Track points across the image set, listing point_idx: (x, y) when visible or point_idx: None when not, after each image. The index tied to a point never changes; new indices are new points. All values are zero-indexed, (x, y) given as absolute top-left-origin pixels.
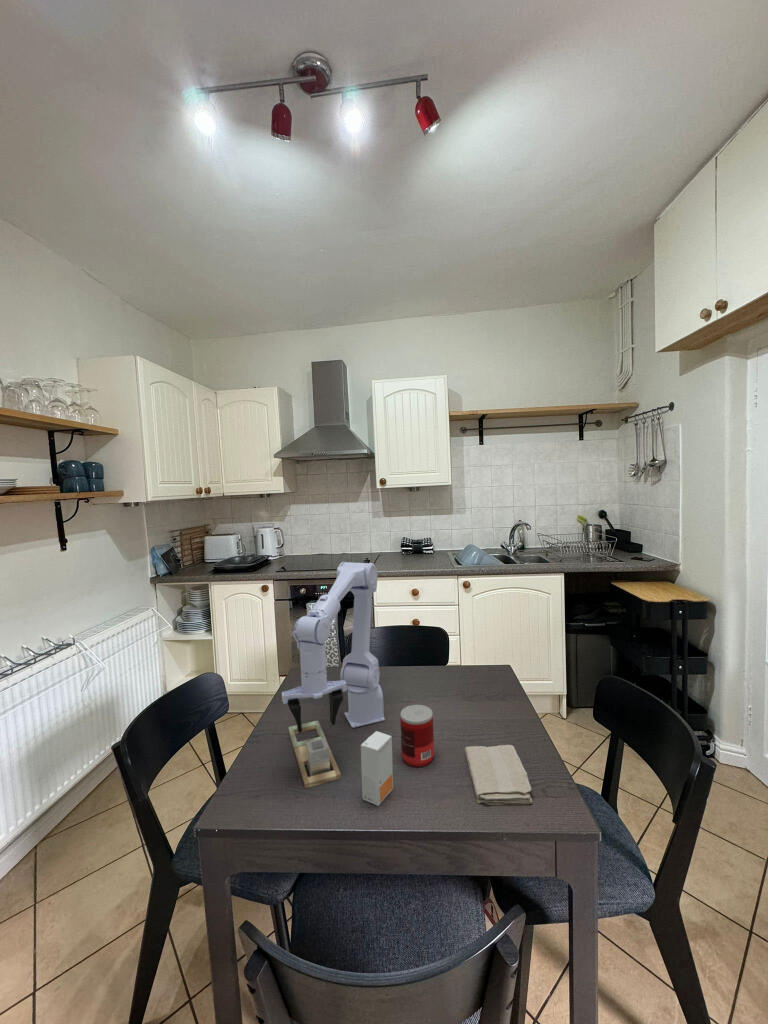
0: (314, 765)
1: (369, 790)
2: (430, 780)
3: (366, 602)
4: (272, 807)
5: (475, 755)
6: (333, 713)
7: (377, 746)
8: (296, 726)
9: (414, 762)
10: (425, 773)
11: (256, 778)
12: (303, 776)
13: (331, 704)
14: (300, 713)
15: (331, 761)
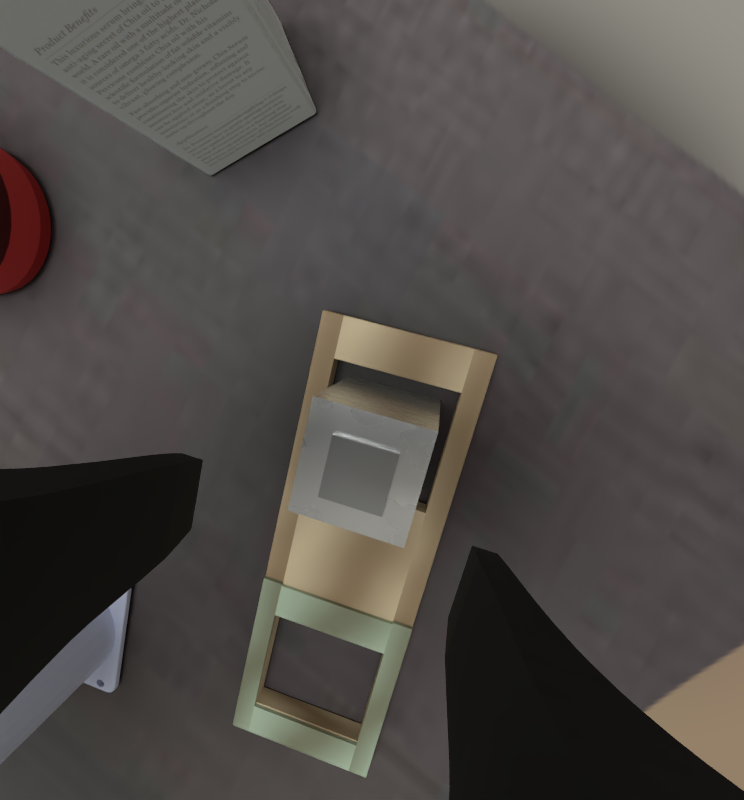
0: (416, 407)
1: (276, 27)
2: None
3: None
4: (687, 333)
5: None
6: (102, 479)
7: None
8: (333, 756)
9: (9, 159)
10: (14, 104)
11: (648, 568)
12: (476, 412)
13: (21, 591)
14: (543, 693)
15: None
